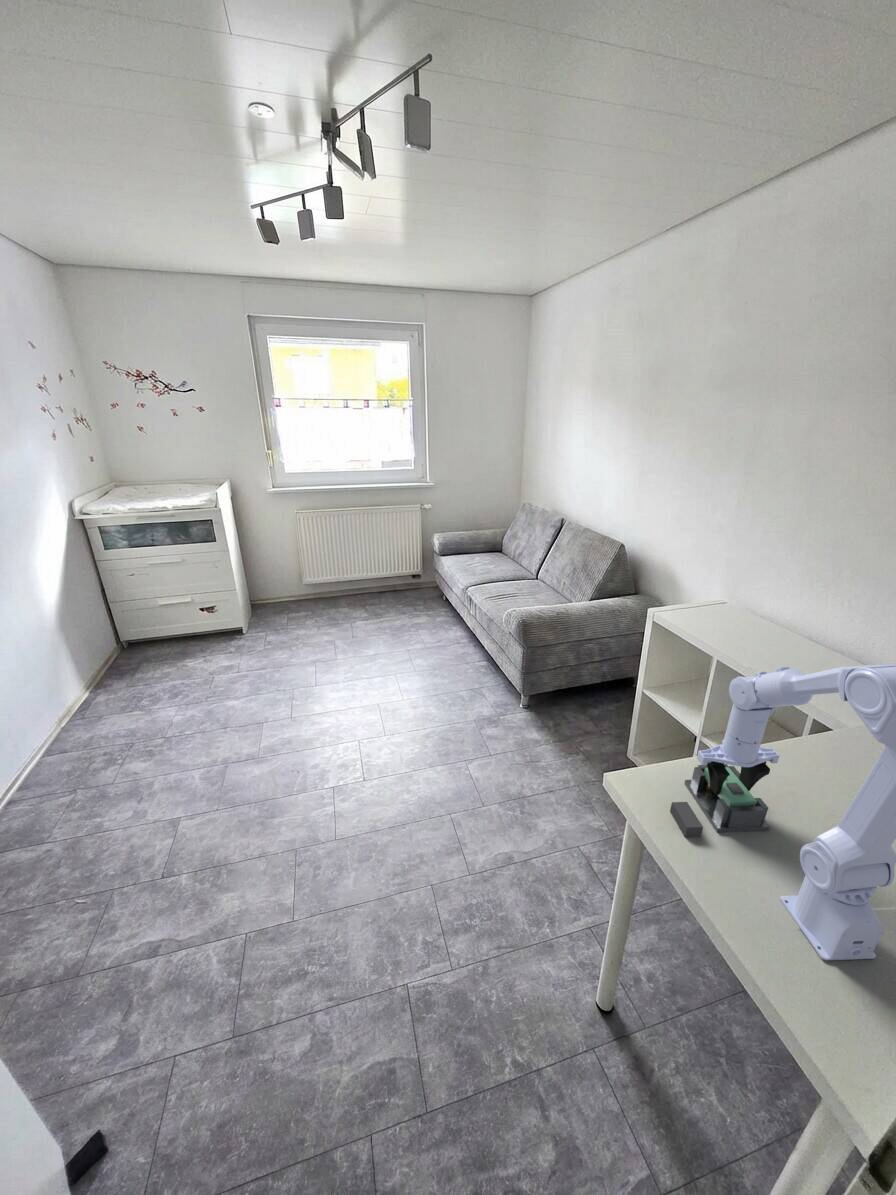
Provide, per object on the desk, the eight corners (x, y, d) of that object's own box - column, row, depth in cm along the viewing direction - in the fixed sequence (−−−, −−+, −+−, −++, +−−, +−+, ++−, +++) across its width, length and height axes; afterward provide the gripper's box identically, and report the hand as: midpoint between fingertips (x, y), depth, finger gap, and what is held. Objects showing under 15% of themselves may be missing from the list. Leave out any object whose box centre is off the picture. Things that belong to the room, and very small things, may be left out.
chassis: (730, 782, 101) (735, 763, 99) (769, 830, 89) (775, 810, 87) (684, 783, 100) (688, 764, 99) (716, 832, 89) (722, 812, 87)
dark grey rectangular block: (700, 836, 88) (703, 827, 87) (684, 837, 88) (687, 827, 87) (684, 811, 94) (687, 801, 93) (669, 811, 94) (671, 802, 93)
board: (726, 775, 98) (729, 765, 97) (754, 809, 90) (757, 798, 89) (703, 775, 98) (705, 765, 97) (728, 810, 89) (731, 799, 88)
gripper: (768, 719, 92) (752, 774, 97) (694, 721, 92) (682, 776, 97) (793, 743, 86) (775, 801, 91) (714, 745, 85) (700, 803, 90)
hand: (728, 790), depth 93 cm, fingers open, 5 cm apart
